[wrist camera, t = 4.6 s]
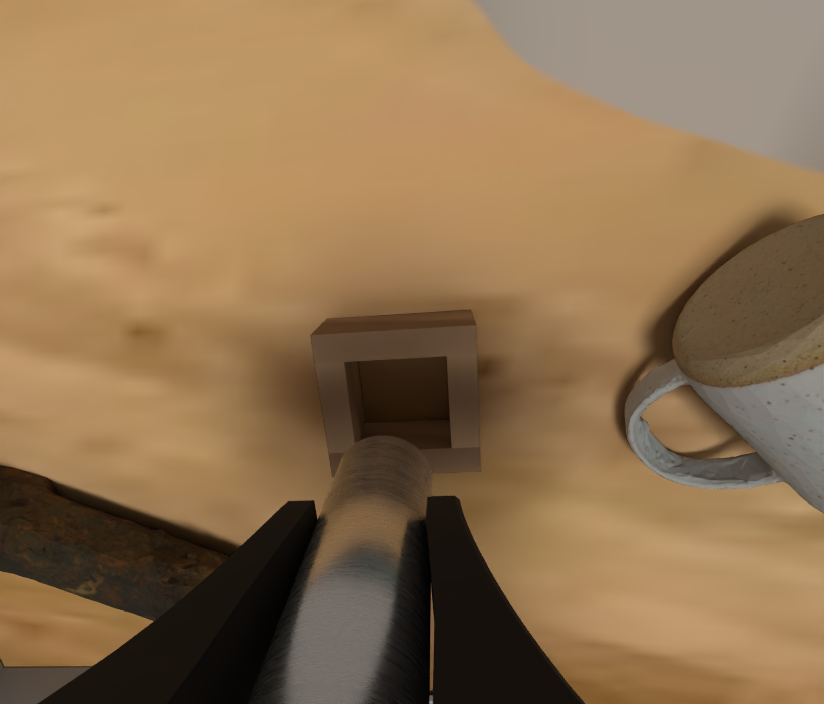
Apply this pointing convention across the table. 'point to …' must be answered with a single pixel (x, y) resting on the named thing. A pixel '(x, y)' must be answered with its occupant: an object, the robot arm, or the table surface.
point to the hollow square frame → (400, 339)
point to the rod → (360, 589)
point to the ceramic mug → (751, 367)
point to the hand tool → (94, 550)
